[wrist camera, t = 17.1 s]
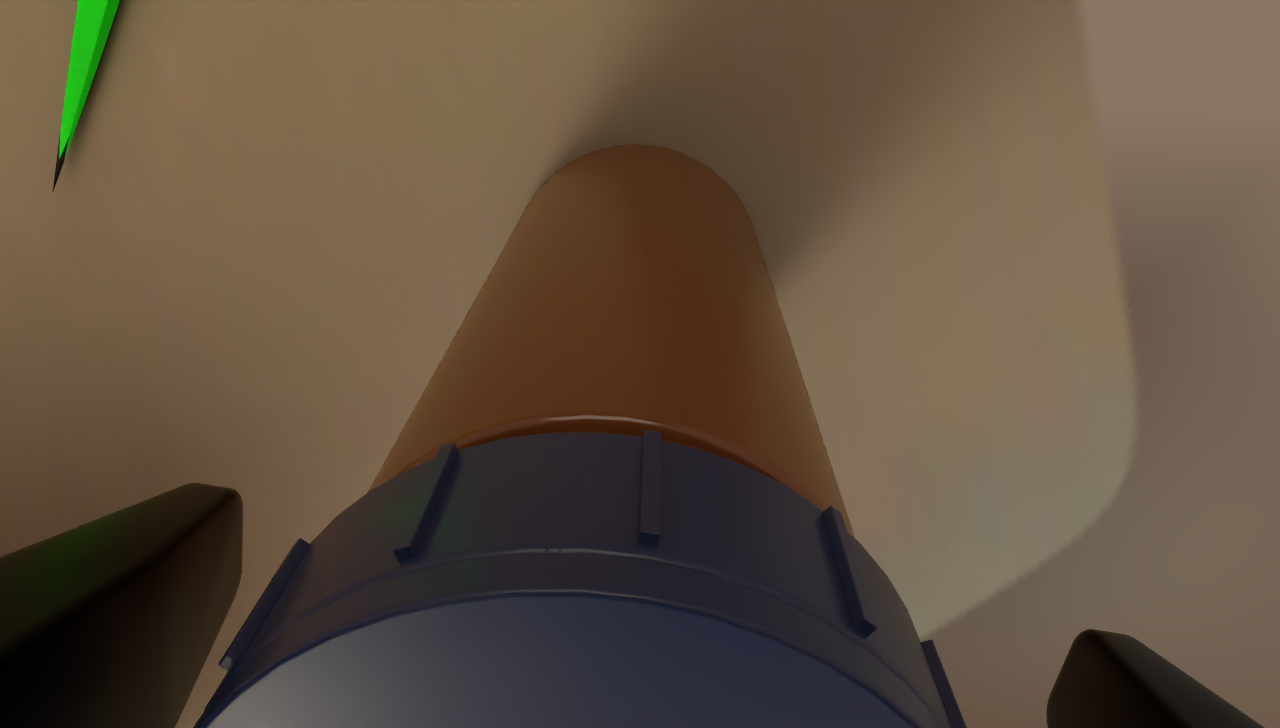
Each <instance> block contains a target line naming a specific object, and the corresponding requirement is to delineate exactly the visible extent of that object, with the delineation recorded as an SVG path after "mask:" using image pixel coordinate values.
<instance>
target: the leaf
mask: <svg viewBox="0 0 1280 728" xmlns="http://www.w3.org/2000/svg"><path fill="white" fill-rule="evenodd" d="M119 2H120V0H78V6H77V13H76V19H75V26H74V33H73V40H72V47H71V54H70V62H69V69H68V77H67V84H66V92H65V100H64V107H63V115H62V122H61V130H60V138H59V146H58V155H57V163H56V170H55V178H54V186H53V191H54V188H55V185H56V182H57V180H58V177H59V174H60V171H61V169H62V166H63V163H64V160H65V157H66V155H67V152H68V149H69V146H70V143H71V141H72V138H73V135H74V132H75V129H76V126H77V124H78V121H79V118H80V115H81V112H82V109H83V107H84V104H85V101H86V98H87V95H88V92H89V89H90V87H91V84H92V81H93V78H94V75H95V72H96V70H97V67H98V64H99V61H100V58H101V55H102V52H103V49H104V46H105V44H106V41H107V38H108V35H109V32H110V29H111V26H112V23H113V20H114V17H115V14H116V11H117V8H118V5H119Z"/></svg>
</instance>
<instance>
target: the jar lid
mask: <svg viewBox="0 0 1280 728" xmlns="http://www.w3.org/2000/svg"><path fill="white" fill-rule="evenodd" d="M219 665H220V666H221V667H223V668H225V669H226V670H228V672H227V673H226V675H225V677H224V678H223V680H222V682H221V683H220V685H219V687H218V688H217V690H216V691H215V693H214V695H213V696H212V698H211V700H210V701H209V703H208V704H207V706H206V708H205V710H204V712H203V714H202V715H201V717H200V718H199V719H198V721H197V722H196V724H195V726H194V727H193V728H967V727H966V725H965V722H964V720H963V717H962V715H961V712H960V710H959V707H958V704H957V702H956V699H955V697H954V694H953V692H952V689H951V687H950V684H949V682H948V679H947V676H946V674H945V671H944V669H943V666H942V663H941V661H940V658H939V656H938V653H937V651H936V648H935V646H934V643H933V641H932V640H928V641H924V642H920V640H919V637H918V635H917V632H916V630H915V627H914V625H913V622H912V620H911V617H910V615H909V612H908V610H907V608H906V606H905V605H904V603H903V601H902V600H901V598H900V596H899V595H898V593H897V591H896V590H895V588H894V587H893V585H892V583H891V582H890V580H889V578H888V577H887V575H886V574H885V573H884V571H883V570H882V569H881V568H880V567H879V565H878V564H877V563H876V562H875V561H874V559H873V558H872V557H871V556H870V555H869V553H868V552H867V551H866V550H865V549H864V547H863V546H862V545H861V544H860V543H859V542H858V541H857V540H856V539H855V538H854V537H853V536H851V535H850V534H849V533H848V532H847V529H846V526H845V523H844V520H843V517H842V514H841V513H840V512H839V511H838V510H837V509H835V508H834V507H833V506H831V505H830V506H829V507H828V508H827V509H826V510H825V511H822V510H821V509H819V508H818V507H817V506H815V505H814V504H812V503H811V502H809V501H808V500H806V499H805V498H803V497H802V496H800V495H799V494H797V493H796V492H794V491H793V490H791V489H790V488H788V487H787V486H785V485H783V484H781V483H779V482H777V481H775V480H773V479H771V478H769V477H767V476H765V475H763V474H761V473H759V472H757V471H755V470H753V469H751V468H749V467H747V466H745V465H743V464H740V463H737V462H734V461H731V460H729V459H727V458H723V457H720V456H718V455H715V454H712V453H709V452H706V451H704V450H701V449H698V448H693V447H689V446H685V445H680V444H676V443H671V442H667V441H663V440H661V432H657V431H651V430H645V431H644V435H643V437H640V436H630V435H621V434H612V433H603V432H579V433H573V432H569V433H545V434H537V435H530V436H522V437H514V438H506V439H500V440H496V441H493V442H489V443H485V444H481V445H477V446H473V447H469V448H465V449H461V450H458V449H457V447H456V444H455V443H451V444H448V445H445V446H442V447H440V449H439V451H438V453H437V455H436V457H435V459H433V460H431V461H428V462H426V463H423V464H421V465H418V466H416V467H413V468H411V469H409V470H407V471H405V472H403V473H401V474H400V475H398V476H396V477H394V478H392V479H391V480H389V481H387V482H385V483H383V484H382V485H380V486H378V487H376V488H374V489H373V490H371V491H369V492H368V493H367V494H365V495H364V496H363V497H361V498H360V499H359V500H358V501H356V502H355V503H354V504H352V505H351V506H350V507H348V508H347V509H346V510H344V511H343V512H342V513H340V514H339V515H338V516H336V517H335V518H334V519H333V520H332V521H331V523H330V524H329V525H328V526H327V527H326V528H325V529H324V530H323V531H322V532H321V533H320V534H319V535H318V536H317V537H316V538H315V539H314V540H313V541H312V542H311V543H310V544H309V543H307V542H306V541H304V540H303V539H301V538H300V539H299V540H298V541H297V542H296V543H295V544H294V546H293V547H292V548H291V550H290V552H289V553H288V555H287V556H286V558H285V559H284V561H283V563H282V564H281V566H280V567H279V569H278V570H277V572H276V574H275V575H274V577H273V578H272V580H271V582H270V583H269V585H268V586H267V588H266V589H265V591H264V593H263V594H262V596H261V597H260V599H259V600H258V602H257V604H256V605H255V607H254V608H253V610H252V612H251V613H250V615H249V616H248V618H247V619H246V621H245V623H244V624H243V626H242V627H241V629H240V630H239V632H238V634H237V635H236V637H235V638H234V640H233V641H232V643H231V645H230V646H229V648H228V649H227V651H226V653H225V654H224V656H223V657H222V659H221V660H220V662H219Z"/></svg>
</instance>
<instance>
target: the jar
mask: <svg viewBox="0 0 1280 728" xmlns="http://www.w3.org/2000/svg"><path fill="white" fill-rule="evenodd" d="M645 430H651V431H657V432H661V440H663V441H667V442H671V443H676V444H680V445H685V446H689V447H693V448H698V449H701V450H704V451H706V452H709V453H712V454H715V455H718V456H720V457H723V458H727V459H729V460H731V461H734V462H737V463H740V464H743V465H745V466H747V467H749V468H751V469H753V470H755V471H757V472H759V473H761V474H763V475H765V476H767V477H769V478H771V479H773V480H775V481H777V482H779V483H781V484H783V485H785V486H787V487H788V488H790V489H791V490H793V491H794V492H796V493H797V494H799V495H800V496H802V497H803V498H805V499H806V500H808V501H809V502H811V503H812V504H814V505H815V506H817V507H818V508H819V509H821V510H822V511H825V510H826V509H827V508H828V507H829V506H830V505H831V506H833V507H834V508H835V509H837V510H838V511H839V512H840V513H841V514H842V517H843V520H844V523H845V526H846V529H847V532H848V533H849V534H850V535H851V536H853V537H854V534H853V531H852V528H851V525H850V521H849V518H848V515H847V512H846V509H845V506H844V503H843V500H842V497H841V494H840V491H839V488H838V485H837V482H836V478H835V475H834V472H833V469H832V466H831V463H830V460H829V457H828V454H827V451H826V448H825V445H824V442H823V438H822V435H821V432H820V429H819V426H818V423H817V420H816V417H815V414H814V411H813V408H812V405H811V402H810V399H809V395H808V392H807V389H806V386H805V383H804V380H803V377H802V374H801V371H800V368H799V365H798V362H797V359H796V356H795V352H794V349H793V346H792V343H791V340H790V337H789V334H788V331H787V328H786V325H785V322H784V319H783V316H782V312H781V309H780V306H779V303H778V300H777V297H776V294H775V291H774V288H773V285H772V282H771V279H770V276H769V273H768V269H767V266H766V263H765V260H764V257H763V254H762V251H761V248H760V245H759V242H758V239H757V236H756V233H755V229H754V226H753V223H752V221H751V219H750V216H749V214H748V212H747V210H746V208H745V206H744V205H743V203H742V202H741V200H740V199H739V197H738V196H737V194H736V193H735V192H734V191H733V189H732V188H731V187H730V186H729V185H728V184H727V183H726V181H725V180H723V179H722V178H721V177H720V176H719V175H718V174H717V173H715V172H714V171H713V170H712V169H710V168H709V167H707V166H706V165H704V164H703V163H701V162H700V161H698V160H696V159H694V158H692V157H690V156H688V155H686V154H683V153H681V152H677V151H674V150H671V149H668V148H664V147H659V146H653V145H641V144H628V145H616V146H612V147H607V148H602V149H599V150H596V151H593V152H590V153H587V154H585V155H583V156H581V157H579V158H577V159H575V160H573V161H571V162H569V163H568V164H566V165H565V166H564V167H562V168H561V169H559V170H558V171H556V172H555V173H554V174H553V175H552V176H551V177H550V178H549V179H548V180H547V181H546V182H545V183H544V184H543V185H542V186H541V187H540V188H539V190H538V191H537V192H536V193H535V195H534V196H533V198H532V199H531V201H530V202H529V204H528V206H527V207H526V209H525V211H524V213H523V214H522V216H521V218H520V220H519V222H518V223H517V225H516V227H515V229H514V231H513V232H512V234H511V236H510V238H509V240H508V241H507V243H506V245H505V247H504V248H503V250H502V252H501V254H500V256H499V257H498V259H497V261H496V263H495V265H494V266H493V268H492V270H491V272H490V274H489V275H488V277H487V279H486V281H485V283H484V284H483V286H482V288H481V290H480V292H479V293H478V295H477V297H476V299H475V300H474V302H473V304H472V306H471V308H470V309H469V311H468V313H467V315H466V317H465V318H464V320H463V322H462V324H461V326H460V327H459V329H458V331H457V333H456V335H455V336H454V338H453V340H452V342H451V344H450V345H449V347H448V349H447V351H446V352H445V354H444V356H443V358H442V360H441V361H440V363H439V365H438V367H437V369H436V370H435V372H434V374H433V376H432V378H431V379H430V381H429V383H428V385H427V387H426V388H425V390H424V392H423V394H422V396H421V397H420V399H419V401H418V403H417V404H416V406H415V408H414V410H413V412H412V413H411V415H410V417H409V419H408V421H407V422H406V424H405V426H404V428H403V430H402V431H401V433H400V435H399V437H398V439H397V440H396V442H395V444H394V446H393V448H392V449H391V451H390V453H389V455H388V456H387V458H386V460H385V462H384V464H383V465H382V467H381V469H380V471H379V473H378V474H377V476H376V478H375V480H374V482H373V483H372V485H371V487H370V489H369V491H371V490H373V489H374V488H376V487H378V486H380V485H382V484H383V483H385V482H387V481H389V480H391V479H392V478H394V477H396V476H398V475H400V474H401V473H403V472H405V471H407V470H409V469H411V468H413V467H416V466H418V465H421V464H423V463H426V462H428V461H431V460H433V459H435V457H436V455H437V453H438V451H439V449H440V447H442V446H445V445H448V444H451V443H455V444H456V447H457V449H458V450H461V449H465V448H469V447H473V446H477V445H481V444H485V443H489V442H493V441H496V440H500V439H506V438H514V437H522V436H530V435H537V434H545V433H569V432H573V433H579V432H603V433H612V434H621V435H630V436H640V437H643V435H644V431H645ZM369 491H368V492H369ZM368 492H367V493H368ZM854 538H855V537H854Z"/></svg>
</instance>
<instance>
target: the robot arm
mask: <svg viewBox="0 0 1280 728" xmlns="http://www.w3.org/2000/svg"><path fill="white" fill-rule="evenodd" d="M242 541H243V503H242V499H241V496H240V494H239V493H238V492H237V491H236V490H234V489H231V488H225V487H219V486H213V485H207V484H201V483H189V484H186V485H183V486H181V487H178V488H176V489H173V490H171V491H168V492H166V493H163V494H161V495H158V496H155V497H153V498H150V499H148V500H145V501H143V502H140V503H138V504H135V505H133V506H130V507H127V508H125V509H122V510H120V511H117V512H115V513H112V514H110V515H107V516H104V517H102V518H99V519H97V520H94V521H92V522H89V523H87V524H84V525H82V526H79V527H76V528H74V529H71V530H69V531H66V532H64V533H61V534H59V535H56V536H53V537H51V538H48V539H46V540H43V541H41V542H38V543H36V544H33V545H31V546H28V547H25V548H23V549H20V550H18V551H15V552H13V553H10V554H8V555H5V556H2V557H0V728H175V726H176V724H177V722H178V720H179V717H180V715H181V713H182V711H183V709H184V707H185V704H186V702H187V700H188V698H189V696H190V693H191V691H192V689H193V687H194V685H195V683H196V680H197V678H198V676H199V674H200V672H201V670H202V667H203V665H204V663H205V661H206V659H207V657H208V654H209V652H210V650H211V648H212V646H213V644H214V641H215V639H216V637H217V635H218V633H219V631H220V628H221V626H222V624H223V622H224V620H225V618H226V615H227V613H228V611H229V609H230V607H231V605H232V602H233V600H234V598H235V596H236V593H237V590H238V587H239V583H240V579H241V573H242ZM1047 725H1048V728H1264V727H1263V726H1261V725H1260V724H1258V723H1257V722H1256V721H1254V720H1253V719H1251V718H1250V717H1248V716H1247V715H1245V714H1244V713H1242V712H1241V711H1239V710H1238V709H1237V708H1235V707H1234V706H1232V705H1231V704H1229V703H1228V702H1226V701H1225V700H1224V699H1222V698H1221V697H1219V696H1218V695H1216V694H1215V693H1213V692H1212V691H1211V690H1209V689H1207V688H1206V687H1205V686H1203V685H1202V684H1200V683H1199V682H1197V681H1196V680H1194V679H1193V678H1192V677H1190V676H1189V675H1187V674H1186V673H1184V672H1183V671H1181V670H1180V669H1179V668H1177V667H1176V666H1174V665H1173V664H1171V663H1170V662H1168V661H1167V660H1165V659H1164V658H1162V657H1161V656H1160V655H1158V654H1157V653H1155V652H1154V651H1152V650H1151V649H1149V648H1148V647H1146V646H1145V645H1144V644H1142V643H1141V642H1139V641H1138V640H1136V639H1135V638H1133V637H1130V636H1128V635H1125V634H1119V633H1113V632H1107V631H1100V630H1094V629H1088V630H1085V631H1083V632H1081V633H1080V634H1079V635H1078V636H1077V637H1076V638H1075V640H1074V642H1073V643H1072V646H1071V648H1070V650H1069V653H1068V655H1067V657H1066V659H1065V662H1064V664H1063V666H1062V669H1061V671H1060V673H1059V675H1058V678H1057V680H1056V682H1055V684H1054V687H1053V689H1052V691H1051V693H1050V697H1049V700H1048V704H1047Z"/></svg>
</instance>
